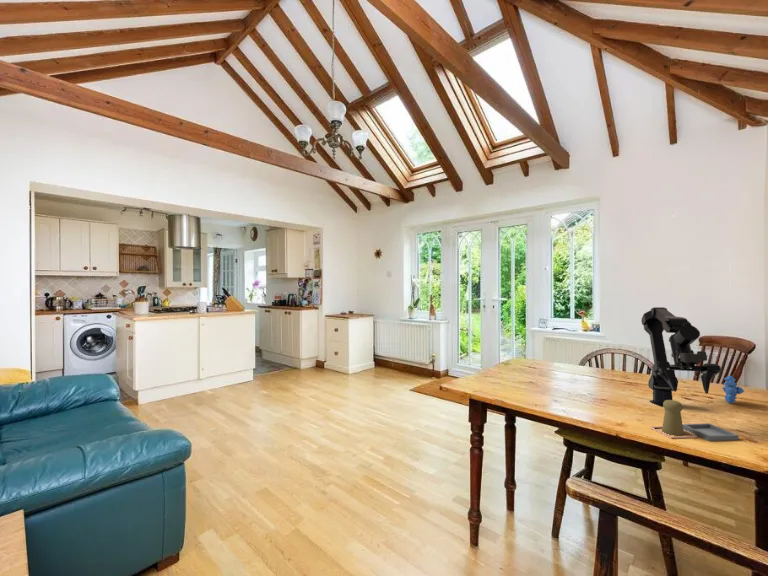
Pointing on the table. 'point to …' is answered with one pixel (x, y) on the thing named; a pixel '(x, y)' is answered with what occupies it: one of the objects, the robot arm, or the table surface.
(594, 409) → the table surface
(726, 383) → the grapes
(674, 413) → the cork
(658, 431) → the frame
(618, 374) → the table surface
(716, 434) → the lower port socket
